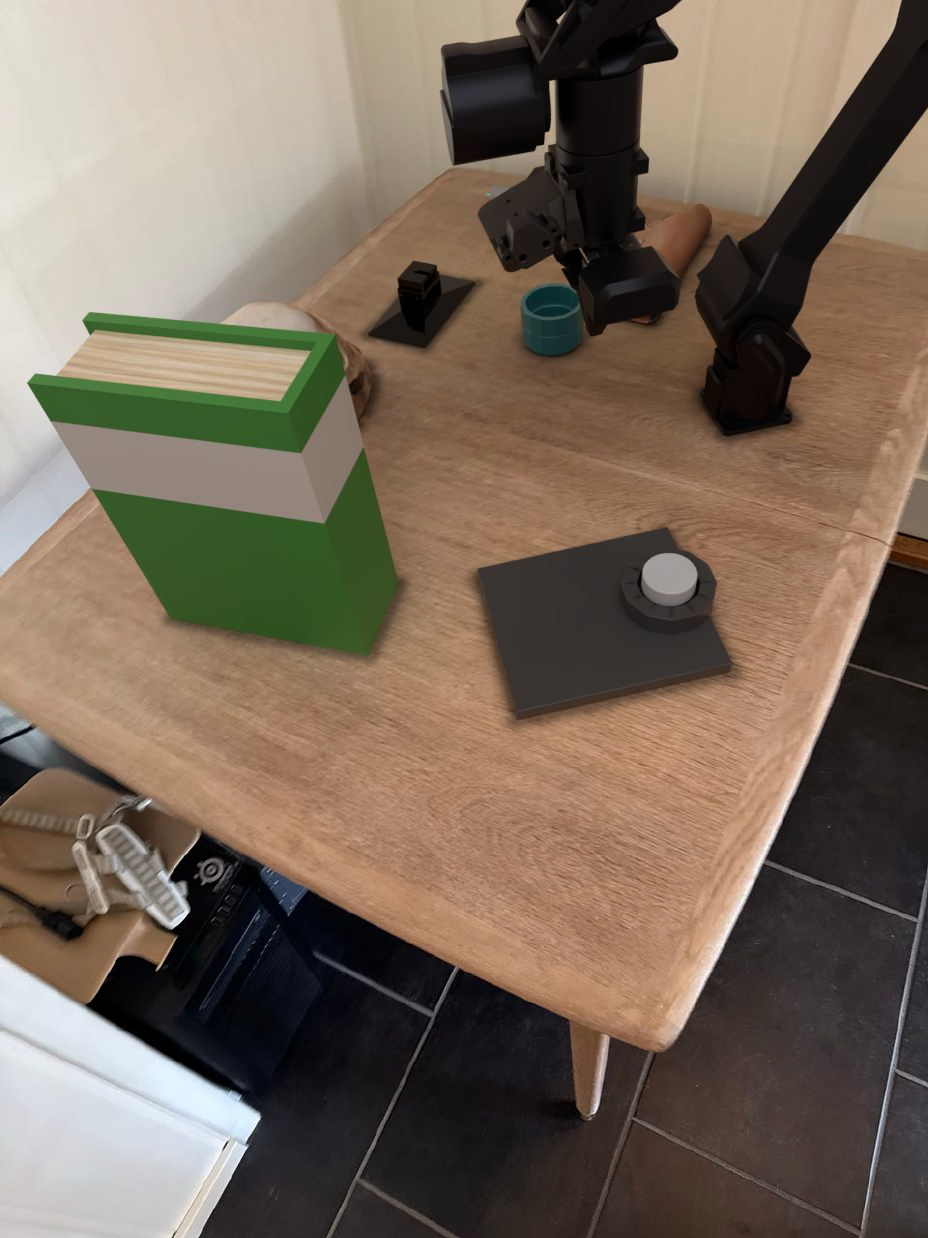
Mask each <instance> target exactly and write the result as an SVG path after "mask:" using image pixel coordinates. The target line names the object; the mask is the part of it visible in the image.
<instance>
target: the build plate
mask: <svg viewBox="0 0 928 1238" xmlns="http://www.w3.org/2000/svg"><path fill="white" fill-rule="evenodd" d="M396 280H397V286H398V287H397V295H398V296H397V297H398V298H397V299H396V300H395V301H394V302H393V303H392V304H391V305H390V307H389V308H388V309H387V310H386V311H385V312H384V314H383V315H382V316H381V317H380V318H379V319H378V321H377V322H376V323H375V324H374V325H373V326H372V327H371V328H370V329H369V331H368V332H367V336H368V338H372V339H376V340H382V341H387V342H391V343H395V344H399V345H405V346H409V347H413V348H417V349H426V348H427V347H428V346H429V344H430V343H431V342H432V341H433V340H434V338H435V337H436V336H437V335H438V334H439V332H440V331H441V329H442V328H443V327H444V325H445V324H446V323H447V322H448V320H450V318H451V317H452V316H453V314H454V313H455V312H456V310H457V309H458V308H459V306H460V305H461V304H462V303H463V301H464V300H465V299H466V298H467V296H468V295H469V294H470V293H471V292H472V290H473V289H474V288H475V286H476V283H477V282H476V281H475V280H472V279H471V280H470V279H466V278H460V277H454V276H451V275H444V274H440V271H439V270H438V265H437V264H434V263H430V262H429V263H428V262H425V261H424V262H423V261H417V260H412V262H410V264H408V266H407V267H406V268H405V269H404V270H403V271H402V273H401V274H400V275H399V276H398V277H397V278H396Z"/></svg>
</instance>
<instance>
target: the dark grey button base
mask: <svg viewBox="0 0 928 1238" xmlns="http://www.w3.org/2000/svg"><path fill="white" fill-rule="evenodd" d="M663 553H674V554H679V555H682V556H684V557H686V558H687V559H689V560H690V561H691V562H692V563H693V564H694V566H695V567H696V570H697V582H696V588H695V592H694V594H693V596H692V597H691V598H690V599H689V600H688V601H687V602H685V603H683V604H681V605H678V606H662V605H658V604H656V603H654V602H652V601H650V600H649V599H648V598H647V597H646V596H645V594H644V593H643V591H642V587H641V581H642V570H643V567H644V565H645V563H646V562H647V561H648V560H649V559H650V558H652V557H654V556H656V555H659V554H663ZM476 573H477V579H478V583H479V586H480V590H481V594H482V597H483V601H484V605H485V608H486V611H487V615H488V619H489V623H490V626H491V630H492V633H493V637H494V642H495V645H496V648H497V651H498V655H499V659H500V663H501V666H502V670H503V674H504V677H505V680H506V684H507V688H508V693H509V695H510V699H511V703H512V707H513V710H514V714H515V717H516V720H517V721H520V720H526V719H530V718H534V717H538V716H542V715H547V714H552V713H556V712H561V711H564V710H568V709H573V708H578V707H583V706H587V705H591V704H597V703H600V702H604V701H609V700H614V699H617V698H623V697H627V696H631V695H635V694H636V695H637V694H640V693H644V692H648V691H653V690H657V689H662V688H666V687H670V686H675V685H679V684H683V683H690V682H692V681H697V680H701V679H706V678H711V677H715V676H719V675H723V674H727V673H731V669H732V666H733V662H732V660H731V658H730V656H729V653H728V652H727V649H726V646H725V645H724V643H723V641H722V639H721V636H720V635H719V632H718V630H717V628H716V625H715V623H714V622H713V620H712V618H711V614H712V611H713V606H714V601H715V596H716V591H717V586H718V581H717V578H716V577H715V575H714V573H713V571H712V569H711V567H710V565H709V563H707V562H706V561H704V560H702V559H701V558H699V557H698V556H697V555H695V554H693V553H692V552H691V551H689V550H683V549H679V548H678V546H677V544H676V542H675V540H674V538H673V536H672V534H671V531H670V529H669V528H668V526H664V527H660V528H655V529H650V530H647V531H641V532H637V533H633V534H632V533H631V534H628V535H624V536H620V537H615V538H611V539H606V540H600V541H596V542H592V543H586V544H584V545H578V546H574V547H568V548H564V549H560V550H555V551H550V552H547V553H546V552H545V553H541V554H537V555H533V556H528V557H524V558H519V559H515V560H510V561H506V562H501V563H496V564H492V565H487V566H482V567H478V568H477V569H476Z"/></svg>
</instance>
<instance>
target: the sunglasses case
mask: <svg viewBox="0 0 928 1238" xmlns="http://www.w3.org/2000/svg"><path fill="white" fill-rule="evenodd" d="M712 225H713V216H712V213H711V211H710V209H709V208H708V206H706V205H705V204H703V203H698V204H695V205H692V206H690V207H687V208H685V209H683V210H680V211H679V212H676V213H675V214H673V215H669V216H666V217H665V216H664V217H662V218H658V219H655V220H650V221H648V222H645V230H643V231H638V232H634V233H633V234H634V235H635V236H636V237H637V239H638V240H639V241H640V243H641V244H642V246H643V248H644V247H648V246H652V247H654V248H655V249H656V250H657V251H659V252H660V253H661V254H662V255H663V256H664V257H665V259H666V260H667V261H668V263H669V264H670V265H671V267H672V268H673V270H674V271H675V272H676V274H677V275H678V277H679V278H680V279H681V280H682V279H683V277H684V275H685V274H686V271H688V270H687V269H688V268H689V266H690V264H691V263H692V261H693V259H694V258H695V256H696V254H697V252H698V251H699V250H700V247H701V246H702V244H703V242H704V241H705V239H706V238H707V237H708V235H709V232H710V231H711V228H712ZM663 313H664V312H662V313H657V314H653V315H649V316H644V317H640V318H636V319H632V320H628V321H629V322H633V323H638V324H643V325H650V324H652V323H654V322H656V321H657V320H658V319H659V318H660V317H661V316H662V314H663Z"/></svg>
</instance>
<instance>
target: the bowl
mask: <svg viewBox="0 0 928 1238" xmlns="http://www.w3.org/2000/svg"><path fill="white" fill-rule="evenodd" d="M520 319H521V320H520V321H521V322H520V324H521V339H522V342H523V344H524V346H526V347H527V348H528V349H529V350H531V351H532V352H533V353H535V354H538V355H540V356H545V357H557V356H561V355H566V354H567V353H569V352H572V351H574V349H575V348H577V347H578V346H579V345H580V344H581V343H582V342H583V340H584V336H585V322H584V319H583V315H582V311H581V307H580V304H579V300H578V296H577V292H576V291H575V290H574V289H573V288H572V287H571V286H570V284H567V283H563V282H559V283H557V282H550V283H544V284H540V285H536V286H534V287H533V288H531V289H528V290H527V292H525V293H524V295H522V297H521V300H520Z"/></svg>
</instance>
